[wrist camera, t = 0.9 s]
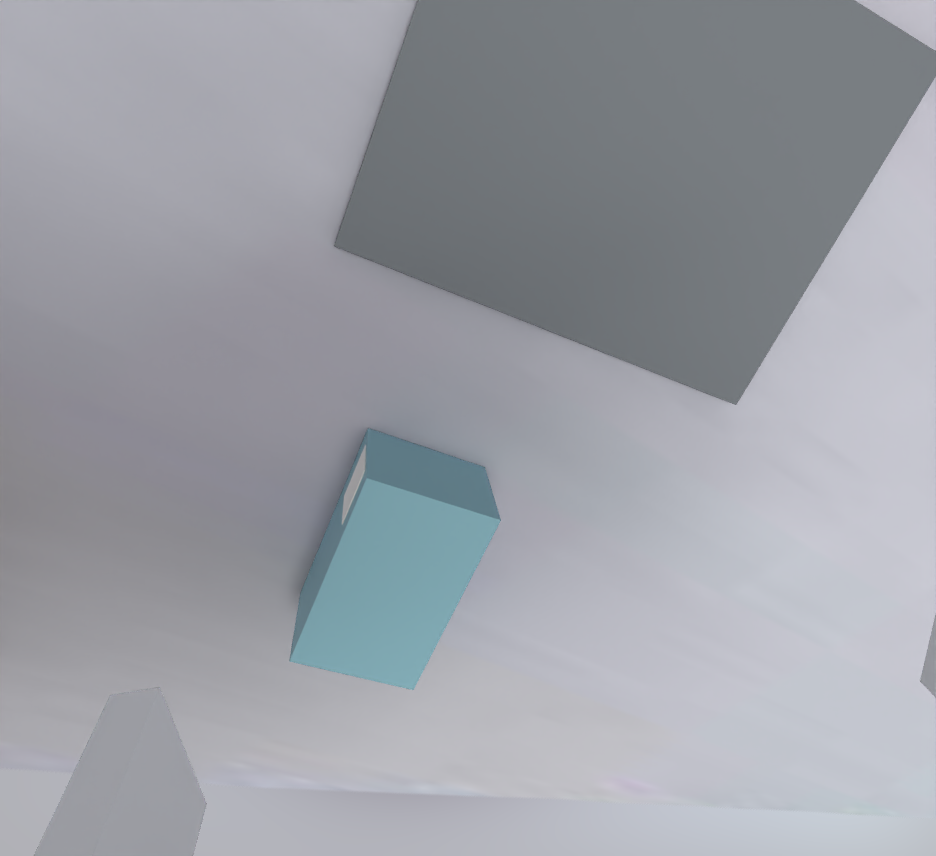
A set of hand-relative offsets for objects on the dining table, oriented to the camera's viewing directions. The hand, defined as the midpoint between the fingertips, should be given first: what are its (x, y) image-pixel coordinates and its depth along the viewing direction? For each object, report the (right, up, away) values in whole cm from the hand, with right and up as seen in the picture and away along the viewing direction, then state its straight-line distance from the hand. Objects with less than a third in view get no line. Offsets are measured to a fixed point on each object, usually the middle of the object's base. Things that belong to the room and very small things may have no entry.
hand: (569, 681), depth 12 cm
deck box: (-6, -1, +23) cm, 23 cm away
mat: (+5, +16, +16) cm, 23 cm away
